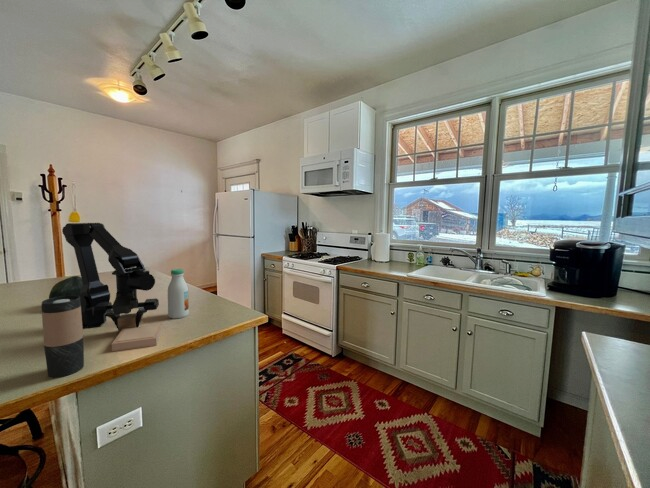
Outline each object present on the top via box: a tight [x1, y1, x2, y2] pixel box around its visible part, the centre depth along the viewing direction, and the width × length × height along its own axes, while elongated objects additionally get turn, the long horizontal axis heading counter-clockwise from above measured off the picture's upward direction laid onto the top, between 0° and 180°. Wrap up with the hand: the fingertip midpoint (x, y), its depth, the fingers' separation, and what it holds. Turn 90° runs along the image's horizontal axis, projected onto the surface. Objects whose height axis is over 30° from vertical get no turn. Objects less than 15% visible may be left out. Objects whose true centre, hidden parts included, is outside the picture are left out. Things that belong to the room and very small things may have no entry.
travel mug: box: [41, 296, 85, 379], centre depth 73 cm, size 8×8×20 cm
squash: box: [48, 275, 83, 299], centre depth 122 cm, size 14×15×15 cm
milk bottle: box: [167, 268, 190, 319], centre depth 114 cm, size 8×8×20 cm
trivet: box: [111, 324, 163, 352], centre depth 92 cm, size 12×12×3 cm
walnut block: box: [117, 312, 137, 336], centre depth 98 cm, size 5×5×6 cm
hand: (128, 329), depth 99 cm, fingers closed on walnut block, 5 cm apart
